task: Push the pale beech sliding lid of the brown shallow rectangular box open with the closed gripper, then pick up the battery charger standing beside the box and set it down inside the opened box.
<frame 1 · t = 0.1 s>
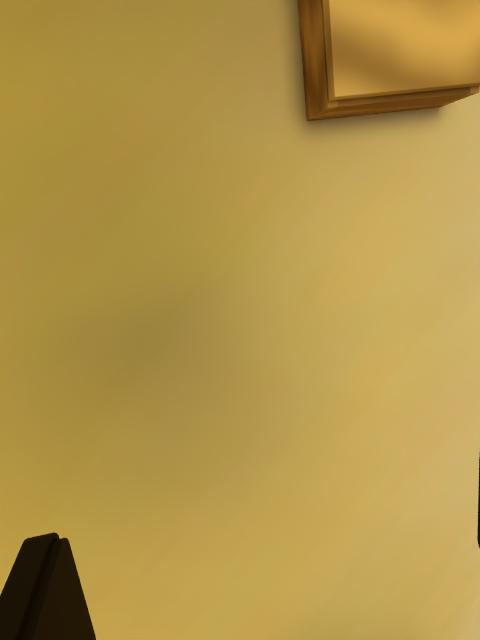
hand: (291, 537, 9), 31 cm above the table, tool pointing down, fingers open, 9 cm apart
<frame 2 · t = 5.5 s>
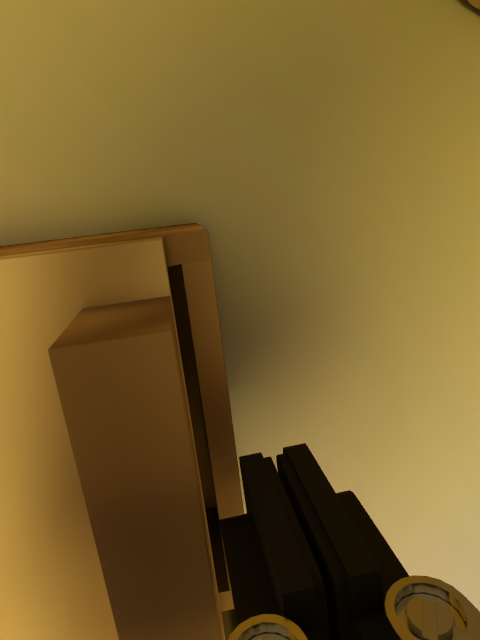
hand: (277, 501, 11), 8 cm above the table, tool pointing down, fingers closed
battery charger: (250, 599, 21), on the table
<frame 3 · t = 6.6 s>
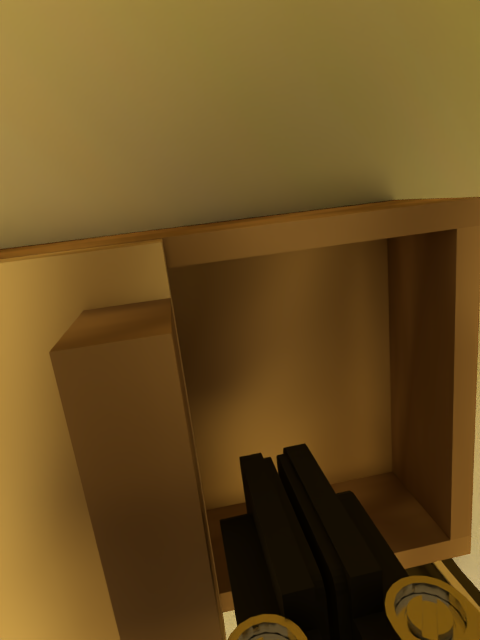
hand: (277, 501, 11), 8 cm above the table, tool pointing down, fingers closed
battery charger: (403, 564, 22), on the table
brown shallow rectangular box: (197, 382, 18), on the table
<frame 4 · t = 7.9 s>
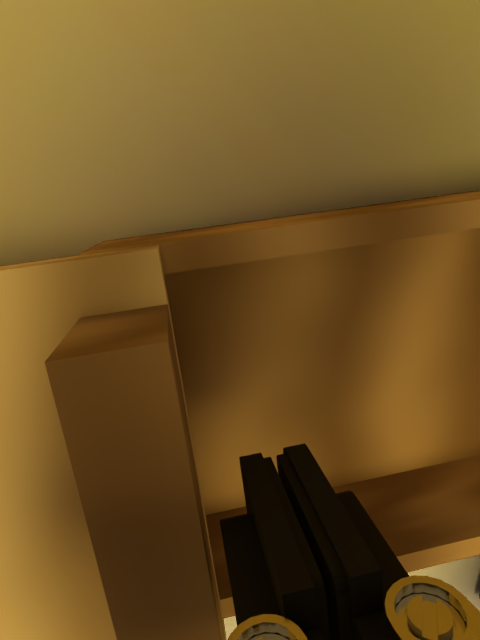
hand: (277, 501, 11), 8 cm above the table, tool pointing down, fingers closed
brown shallow rectangular box: (344, 360, 19), on the table
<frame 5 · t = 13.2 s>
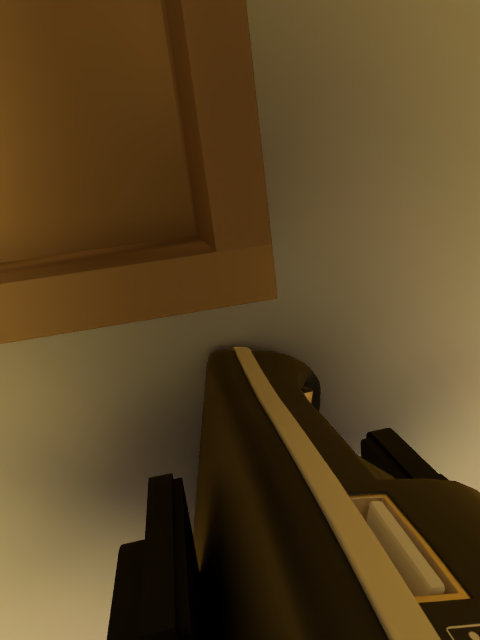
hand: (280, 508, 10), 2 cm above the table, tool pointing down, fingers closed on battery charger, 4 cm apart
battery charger: (260, 449, 13), on the table, touching gripper
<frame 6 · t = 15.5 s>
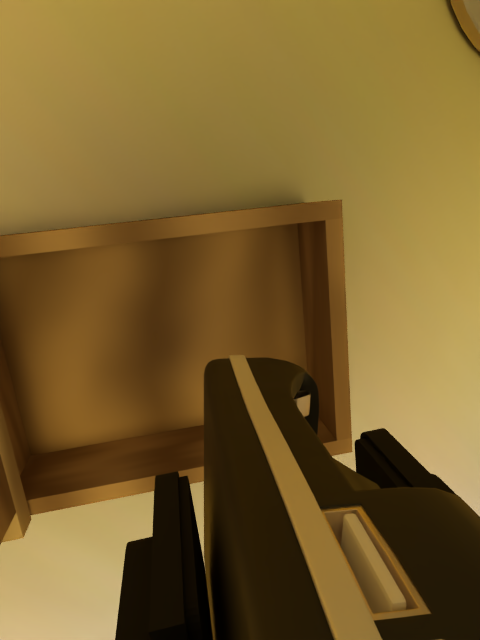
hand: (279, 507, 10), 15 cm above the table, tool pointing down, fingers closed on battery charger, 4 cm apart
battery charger: (265, 452, 13), point 12 cm above the table, touching gripper
brown shallow rectangular box: (162, 334, 24), on the table
when the fingers open (5 cm above the table, at t = 17.9 s): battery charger drops 1 cm, resting on brown shallow rectangular box.
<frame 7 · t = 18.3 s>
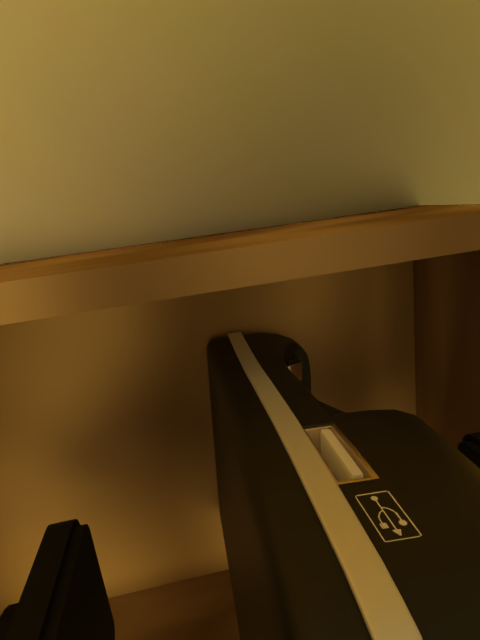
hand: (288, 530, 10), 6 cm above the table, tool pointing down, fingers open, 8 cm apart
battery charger: (267, 419, 15), point 1 cm above the table, touching brown shallow rectangular box
brown shallow rectangular box: (187, 426, 15), on the table
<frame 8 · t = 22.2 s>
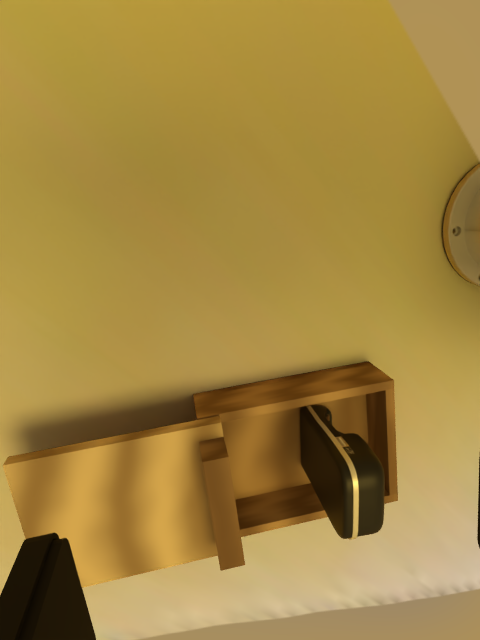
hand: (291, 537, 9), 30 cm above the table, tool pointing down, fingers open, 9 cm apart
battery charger: (316, 432, 43), point 1 cm above the table, touching brown shallow rectangular box
lid: (130, 518, 35), point 7 cm above the table, slide at 15.3 cm
brown shallow rectangular box: (289, 434, 44), on the table
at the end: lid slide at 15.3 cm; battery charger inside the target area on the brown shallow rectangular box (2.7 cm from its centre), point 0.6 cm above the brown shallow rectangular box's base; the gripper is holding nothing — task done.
